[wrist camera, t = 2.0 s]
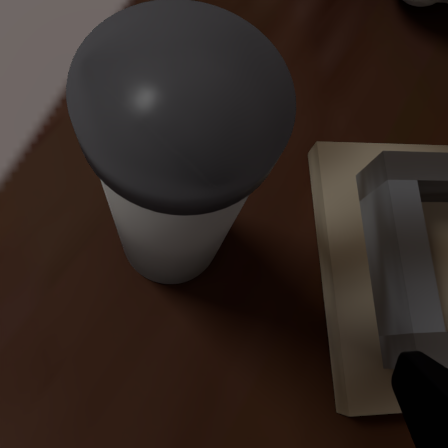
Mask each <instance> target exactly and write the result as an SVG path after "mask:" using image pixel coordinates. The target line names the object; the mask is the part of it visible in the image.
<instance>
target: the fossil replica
mask: <svg viewBox="0 0 448 448" xmlns="http://www.w3.org/2000/svg"><path fill="white" fill-rule="evenodd" d="M403 1H404V2H406V3H407V4H410V5H412V6H418V7H424V6H430V5H432V4H434V3H437V2H443V3H448V0H403Z"/></svg>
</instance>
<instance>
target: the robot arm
mask: <svg viewBox="0 0 448 448" xmlns="http://www.w3.org/2000/svg"><path fill="white" fill-rule="evenodd" d="M391 384H392V389H393V391H394V394H395V396H396V399H397V401H398V404H399V406H400V409H401V412H402V414H403V417H404V419H405V422H406V424H407V427H408V429H409V432H410V434H411V437H412V439H413V442H414V444H415V447H416V448H448V368H446V367H445V366H443V365H442V364H440V363H438V362H437V361H435V360H434V359H432V358H431V357H429V356H428V355H426V354H424V353H423V352H421V351H418V350H414V351H403V352H401V353H400V354H399V356H398V358H397V361H396V365H395V368H394V371H393V374H392V378H391Z"/></svg>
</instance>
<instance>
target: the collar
mask: <svg viewBox="0 0 448 448" xmlns="http://www.w3.org/2000/svg"><path fill="white" fill-rule="evenodd" d="M308 160H309V169H310V178H311V187H312V196H313V205H314V214H315V223H316V232H317V241H318V250H319V259H320V268H321V277H322V286H323V295H324V304H325V313H326V322H327V331H328V340H329V349H330V358H331V367H332V376H333V385H334V394H335V403H336V412H337V413H339V414H343V415H346V416H349V417H352V416H366V415H379V414H393V413H402V412H401V409H400V406H399V404H398V401H397V399H396V396H395V394H394V391H393V389H392V384H391V378H392V374H393V371H394V368H395V365H396V361H397V358H398V356H399V354H400V353H401V352H403V351H414V350H418V351H421V352H423V353H424V354H426V355H428V356H429V357H431V358H432V359H434V360H435V361H437V362H438V363H440V364H442V365H443V366H445V367H446V368H448V146H446V145H413V144H381V143H348V142H316V143H315V145H314V146H313V147H312V149H311V150H310V151H309V153H308Z"/></svg>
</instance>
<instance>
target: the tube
mask: <svg viewBox="0 0 448 448" xmlns="http://www.w3.org/2000/svg"><path fill="white" fill-rule="evenodd" d="M66 100H67V106H68V112H69V115H70V118H71V122H72V125H73V128H74V130H75V133H76V136H77V138H78V141H79V144H80V146H81V149H82V152H83V154H84V156H85V158H86V160H87V162H88V163H89V165H90V166H91V168H92V169H93V171H94V172H95V174H96V175H97V176H98V177H99V178H100V180H101V183H102V186H103V189H104V192H105V195H106V198H107V201H108V204H109V207H110V210H111V213H112V216H113V219H114V222H115V225H116V228H117V231H118V234H119V237H120V240H121V243H122V246H123V249H124V252H125V255H126V257H127V259H128V261H129V262H130V264H131V265H132V267H133V268H134V269H135V270H136V271H137V272H138V273H140V274H141V275H142V276H144V277H145V278H147V279H149V280H151V281H154V282H157V283H162V284H179V283H184V282H187V281H189V280H192V279H193V278H195V277H197V276H198V275H200V274H201V273H202V272H203V271H205V270H206V268H207V267H208V266H209V265H210V263H211V262H212V260H213V258H214V257H215V255H216V253H217V251H218V250H219V248H220V246H221V244H222V242H223V241H224V239H225V237H226V235H227V233H228V232H229V230H230V228H231V226H232V224H233V223H234V221H235V219H236V217H237V215H238V214H239V212H240V210H241V208H242V206H243V205H244V203H245V201H246V199H247V198H248V196H249V195H250V194H251V193H252V192H253V191H254V190H255V189H257V188H258V187H259V186H260V185H261V183H262V182H263V181H264V180H265V179H266V178H267V176H268V175H269V173H270V171H271V170H272V168H273V167H274V165H275V163H276V162H277V160H278V158H279V157H280V155H281V153H282V152H283V150H284V148H285V147H286V145H287V143H288V140H289V138H290V136H291V133H292V130H293V126H294V122H295V114H296V96H295V90H294V85H293V81H292V78H291V75H290V72H289V70H288V68H287V66H286V64H285V62H284V60H283V58H282V57H281V55H280V54H279V52H278V50H277V49H276V48H275V47H274V45H273V44H272V43H271V42H270V41H269V39H268V38H267V37H266V36H264V35H263V34H262V33H261V32H260V31H259V30H258V29H257V28H255V27H254V26H253V25H251V24H250V23H249V22H247V21H246V20H244V19H242V18H241V17H239V16H237V15H236V14H233V13H231V12H229V11H227V10H225V9H222V8H219V7H217V6H214V5H211V4H207V3H202V2H198V1H191V0H155V1H150V2H144V3H140V4H137V5H134V6H131V7H128V8H126V9H124V10H121V11H119V12H117V13H115V14H114V15H112V16H110V17H109V18H107V19H105V20H104V21H103V22H102V23H100V24H99V25H98V26H97V27H96V28H94V29H93V30H92V32H91V33H90V34H89V35H88V36H87V37H86V38H85V39H84V41H83V43H82V44H81V45H80V47H79V48H78V50H77V52H76V54H75V56H74V58H73V61H72V63H71V67H70V69H69V72H68V79H67V85H66Z"/></svg>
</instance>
